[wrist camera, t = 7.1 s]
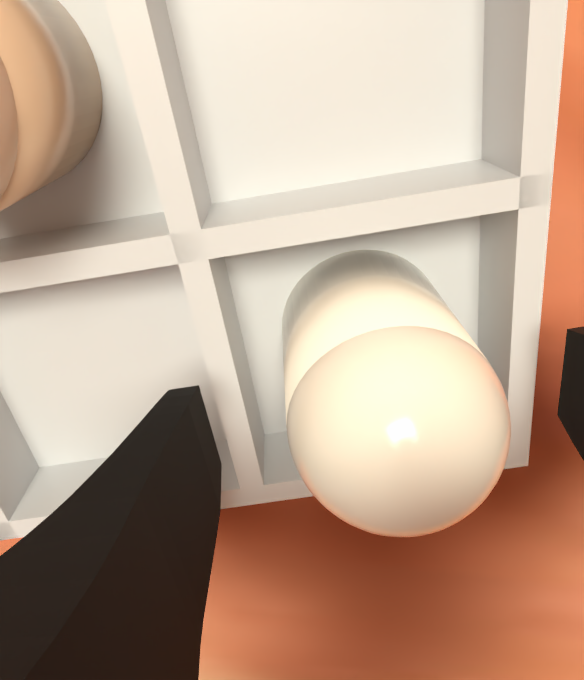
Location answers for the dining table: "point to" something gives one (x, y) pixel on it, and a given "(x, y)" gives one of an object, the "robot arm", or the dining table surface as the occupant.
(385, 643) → the dining table surface
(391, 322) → the cream egg
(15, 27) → the brown egg
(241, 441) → the egg carton
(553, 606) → the dining table surface
